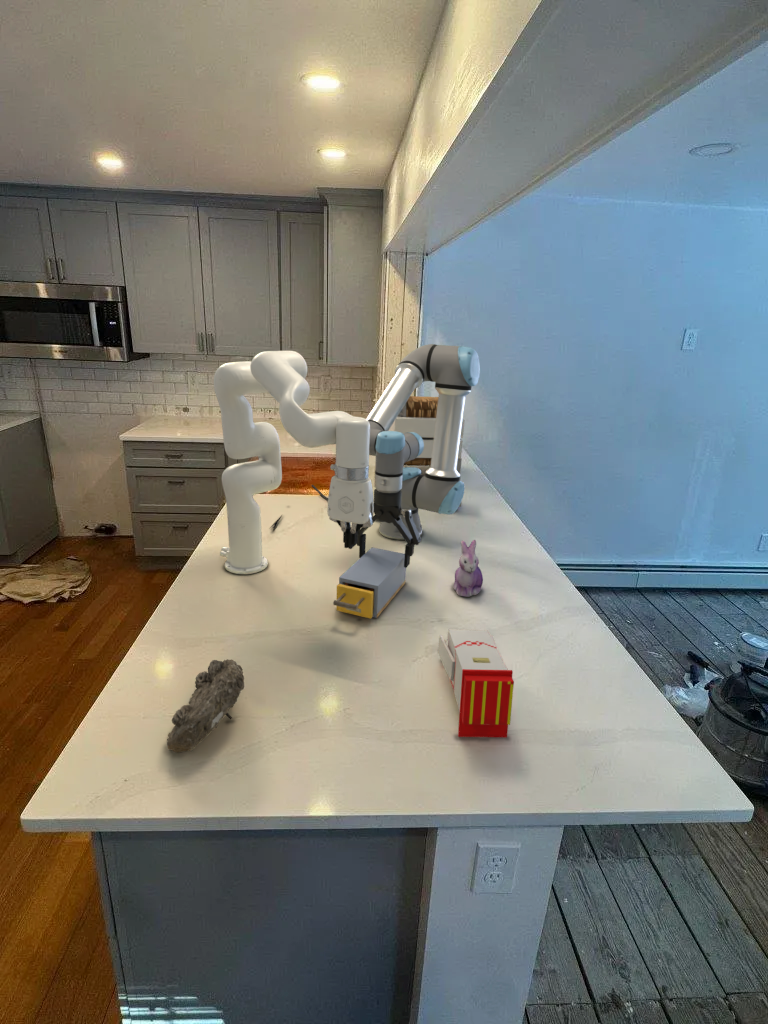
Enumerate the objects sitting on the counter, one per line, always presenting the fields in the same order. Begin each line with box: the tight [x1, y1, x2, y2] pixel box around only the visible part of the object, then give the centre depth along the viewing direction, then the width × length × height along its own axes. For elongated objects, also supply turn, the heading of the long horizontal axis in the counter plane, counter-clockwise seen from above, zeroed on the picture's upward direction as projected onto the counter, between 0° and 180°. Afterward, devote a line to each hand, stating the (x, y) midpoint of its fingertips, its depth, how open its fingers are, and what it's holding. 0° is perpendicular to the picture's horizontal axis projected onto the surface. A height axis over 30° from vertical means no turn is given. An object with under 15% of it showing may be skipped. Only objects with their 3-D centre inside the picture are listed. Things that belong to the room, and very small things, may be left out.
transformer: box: [388, 395, 465, 475], centre depth 268 cm, size 34×33×41 cm
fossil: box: [166, 658, 245, 754], centre depth 106 cm, size 22×10×15 cm
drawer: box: [332, 582, 374, 620], centre depth 150 cm, size 26×10×7 cm, turn 158°
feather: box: [268, 514, 283, 532], centre depth 208 cm, size 2×28×2 cm
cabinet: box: [338, 546, 407, 619], centre depth 155 cm, size 22×11×9 cm, turn 158°
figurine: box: [453, 539, 484, 598], centre depth 159 cm, size 9×10×15 cm
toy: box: [437, 628, 515, 738], centre depth 117 cm, size 12×13×30 cm
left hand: (350, 546), depth 135 cm, fingers closed
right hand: (384, 561), depth 160 cm, fingers open, 13 cm apart
